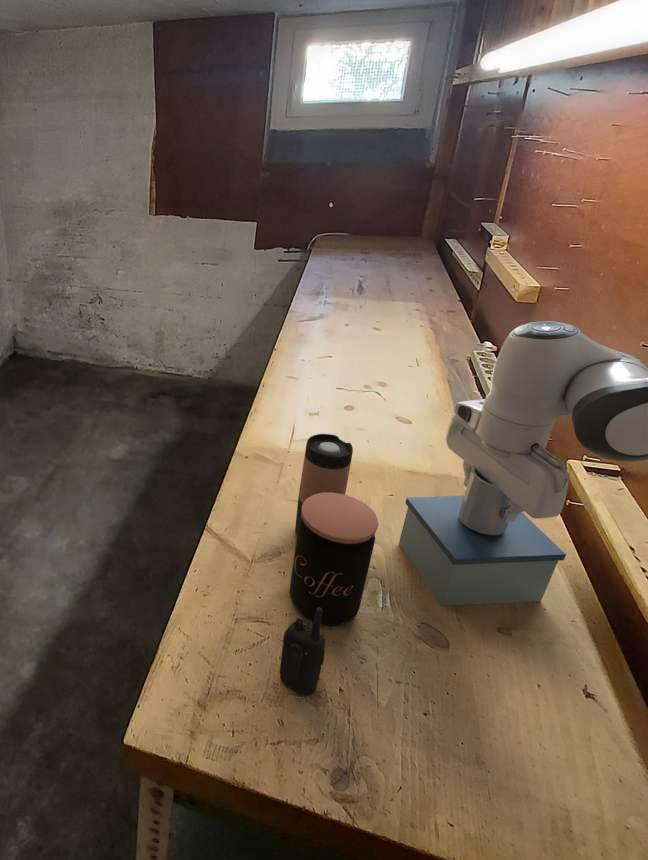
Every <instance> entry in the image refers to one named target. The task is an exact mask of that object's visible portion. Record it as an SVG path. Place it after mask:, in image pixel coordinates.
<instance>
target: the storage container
mask: <svg viewBox="0 0 648 860" xmlns="http://www.w3.org/2000/svg"><path fill="white" fill-rule="evenodd" d="M463 497H464V494H463V495H443V496H417V497H414V496H413V497H406V500H405V505H406V506H407V509H406V513H405V518H404V521H403V525H402V529H401V533H400V536H399V540H398V545H399V547H400V549H401V550H402V551H403V553H404V555H406V557H407V558H408V560H409V561H410V563H411V565H413V567H414V568H415V570H416V571H417V573H418V575H419V576H420V578H421V579H422V580H423V582H424V583H425V585H426V586H427V587H428V589H429V590H430V592H431V593H432V594H433V596H434V598H435V599H436V600H437V602H438V603H439V605H440V606H459V605H482V604H483V605H484V604H509V603H531V602H532V603H533V602H542V600H543V598H544V595H545V593H546V591H547V588H548V586H549V584H550V581H551V579H552V576H553V574H554V572H555V569H556V567H557V565H558V562H559V561H564V560H565V559H566V556H567V554H566V553H565V552H564V551H563V550H562V549H561V548H560V547H559V546H558V545H557V544H556V543H555V542H554V541H553V540H552V539H550V537H548V536H547V535H546V534H545V533H544V532H543V530H541V529H540V528H539V527H538V526H537V525H536V524H535V523H534V522H533V521H532V520H531V519H529V517H528V516H526V514H524V512H521V513H519V514H518V517H517V519H516V521H515V522H509V523H508V526H507V528H506V530H505V532H504V533H502V534H499V535H487V534H482V533H479V532H476V531H474V530H472V529H470V528H468V527H467V526H465V525H464V524H463V523H462V522H461V521H460V519H459V517H458V513H459V510H460V507H461V503H462V500H463Z"/></svg>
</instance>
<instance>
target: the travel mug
mask: <svg viewBox="0 0 648 860" xmlns="http://www.w3.org/2000/svg"><path fill="white" fill-rule="evenodd" d="M353 452H354V447H353V445H352V443H351V442H345V441H343V440H342V439H340V437H339V436H338V435H335V434H331V433H317V434H314V435H312V436H310V437H308V439H307V440H306V445H305V451H304V458H303V464H302V470H301V477H300V482H299V490H298V497H297V507H296V518H295V526H294V527H295V529H294V531H295V532H294V533H295V537H296V538H297V533H298V526H299V520H300V517H301V510H302V504H303V503H304V501H305V500H306V499H307V498H309V497H310V496H312V495H315V494H319V493H338V494H344V495H346V493H347V487H348V482H349V476H350V471H351V470H350V469H351V464H352V457H353Z"/></svg>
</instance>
